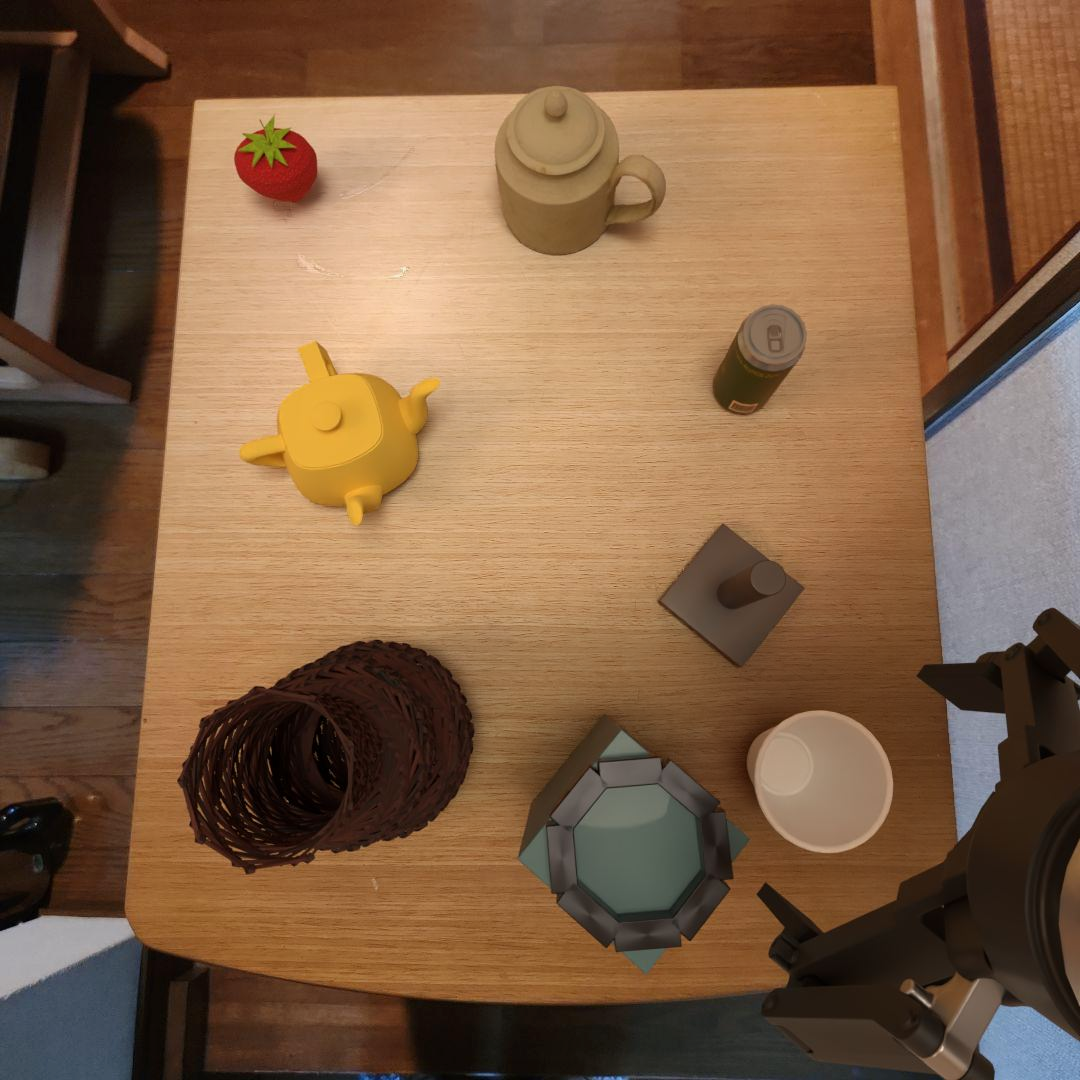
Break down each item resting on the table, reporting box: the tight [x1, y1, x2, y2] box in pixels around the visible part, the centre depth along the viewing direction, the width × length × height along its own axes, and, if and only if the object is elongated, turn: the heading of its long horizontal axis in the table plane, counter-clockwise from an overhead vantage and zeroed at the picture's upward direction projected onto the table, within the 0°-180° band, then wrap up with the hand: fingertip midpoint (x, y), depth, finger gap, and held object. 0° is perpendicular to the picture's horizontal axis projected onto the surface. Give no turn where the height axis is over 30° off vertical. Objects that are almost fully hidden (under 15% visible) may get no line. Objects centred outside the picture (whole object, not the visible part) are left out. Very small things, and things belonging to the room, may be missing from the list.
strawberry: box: [233, 114, 319, 203], centre depth 72 cm, size 6×8×10 cm
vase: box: [176, 639, 475, 875], centre depth 53 cm, size 15×15×30 cm
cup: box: [746, 709, 894, 854], centre depth 61 cm, size 10×10×11 cm
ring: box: [546, 753, 735, 953], centre depth 46 cm, size 11×11×2 cm
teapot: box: [238, 340, 441, 526], centre depth 68 cm, size 14×13×10 cm
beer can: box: [712, 303, 808, 415], centre depth 66 cm, size 5×5×12 cm
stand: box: [517, 713, 751, 975], centre depth 57 cm, size 10×10×20 cm
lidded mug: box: [494, 85, 667, 256], centre depth 69 cm, size 15×11×15 cm
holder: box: [657, 523, 806, 669], centre depth 62 cm, size 9×9×14 cm
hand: (864, 794), depth 39 cm, fingers open, 13 cm apart
